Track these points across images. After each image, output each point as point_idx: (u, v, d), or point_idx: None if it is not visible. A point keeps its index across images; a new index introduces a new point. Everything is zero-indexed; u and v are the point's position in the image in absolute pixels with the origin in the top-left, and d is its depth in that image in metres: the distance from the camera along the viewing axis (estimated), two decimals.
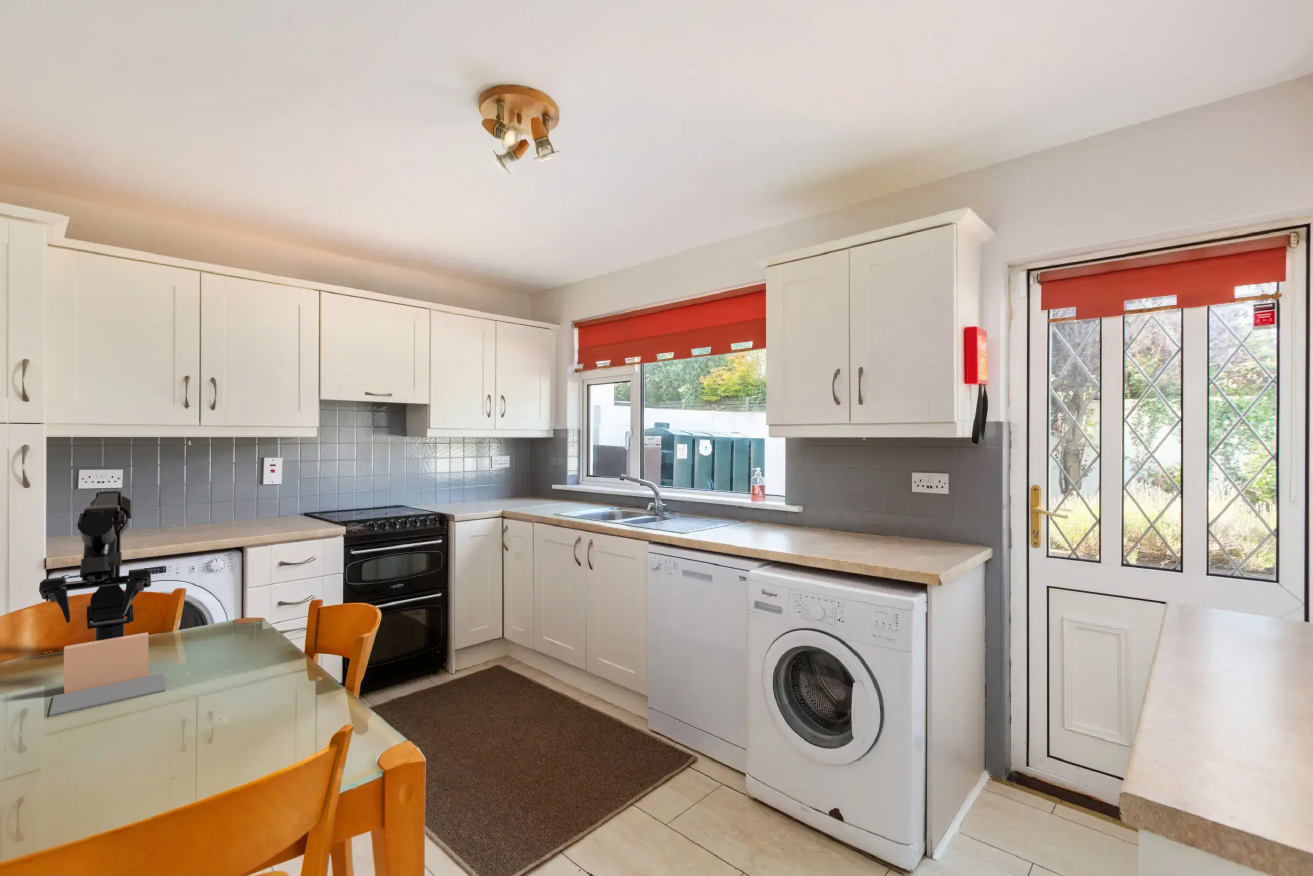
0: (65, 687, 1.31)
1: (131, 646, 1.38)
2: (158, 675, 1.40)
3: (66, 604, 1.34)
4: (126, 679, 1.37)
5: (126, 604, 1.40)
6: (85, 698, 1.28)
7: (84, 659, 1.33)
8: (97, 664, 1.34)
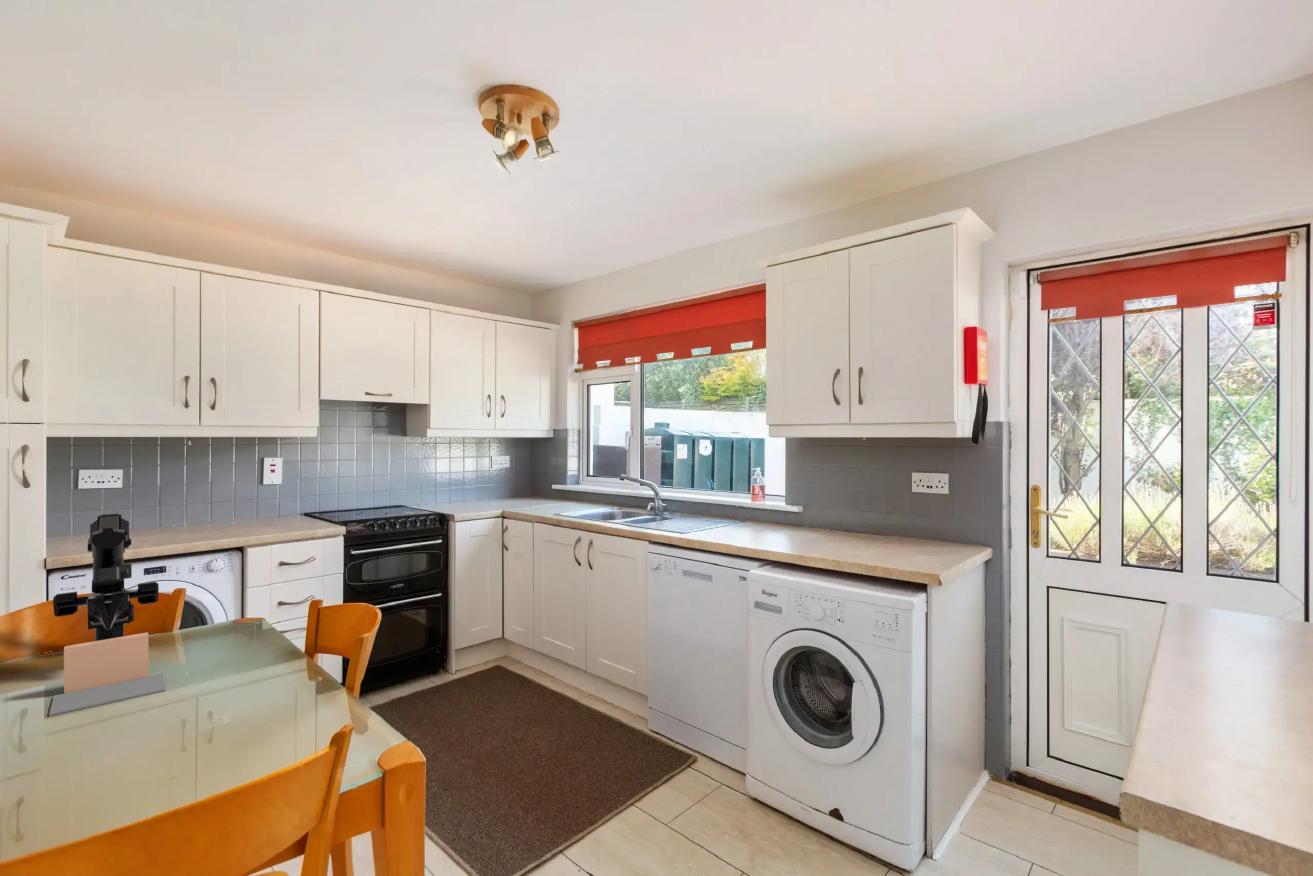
0: (65, 687, 1.31)
1: (131, 646, 1.38)
2: (158, 675, 1.40)
3: (105, 612, 1.43)
4: (126, 679, 1.37)
5: (112, 618, 1.43)
6: (85, 698, 1.28)
7: (84, 659, 1.33)
8: (97, 664, 1.34)
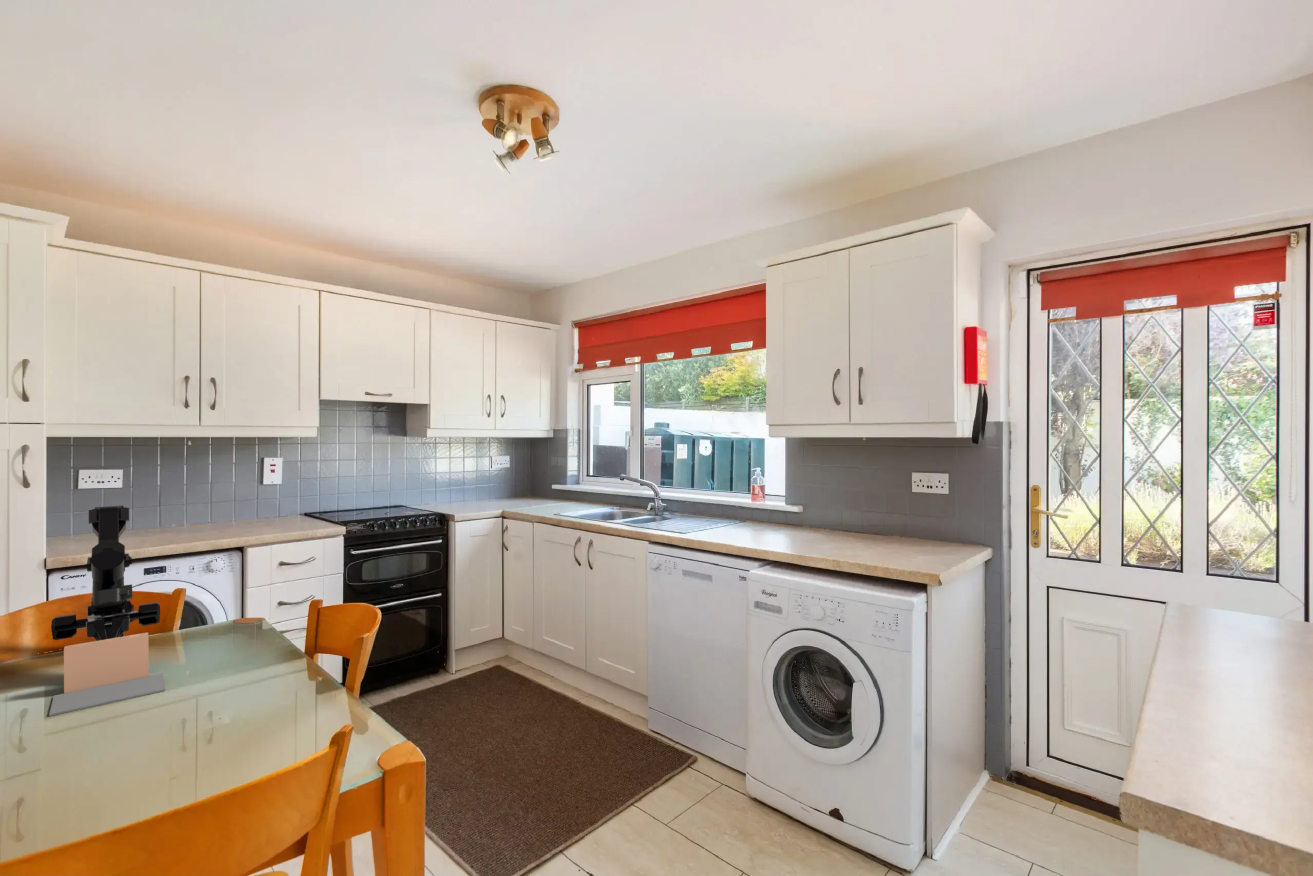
0: (65, 687, 1.31)
1: (131, 646, 1.38)
2: (158, 675, 1.40)
3: (105, 635, 1.38)
4: (126, 679, 1.37)
5: None
6: (85, 698, 1.28)
7: (84, 659, 1.33)
8: (97, 664, 1.34)
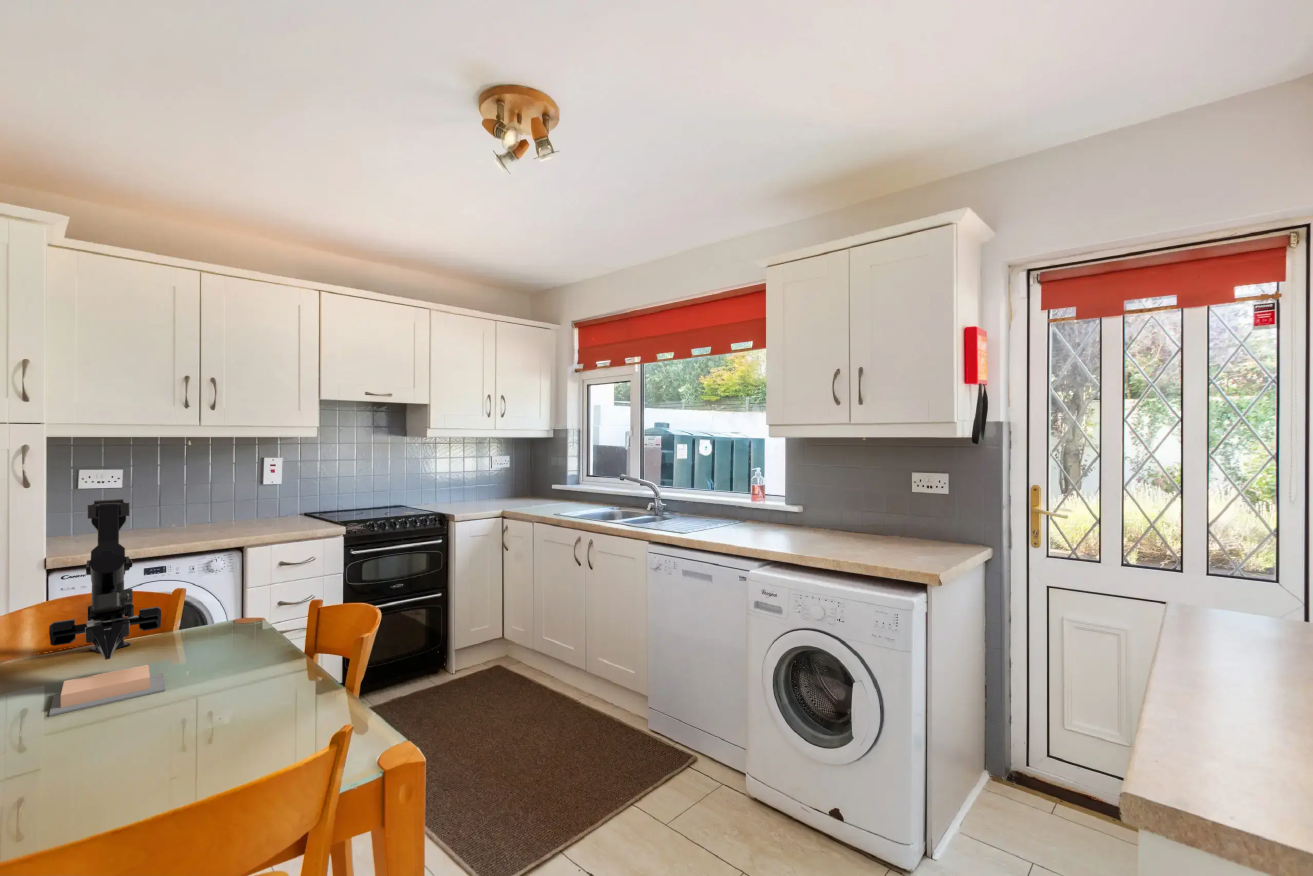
0: None
1: None
2: (158, 675, 1.40)
3: (104, 640, 1.35)
4: None
5: (112, 647, 1.35)
6: None
7: None
8: None
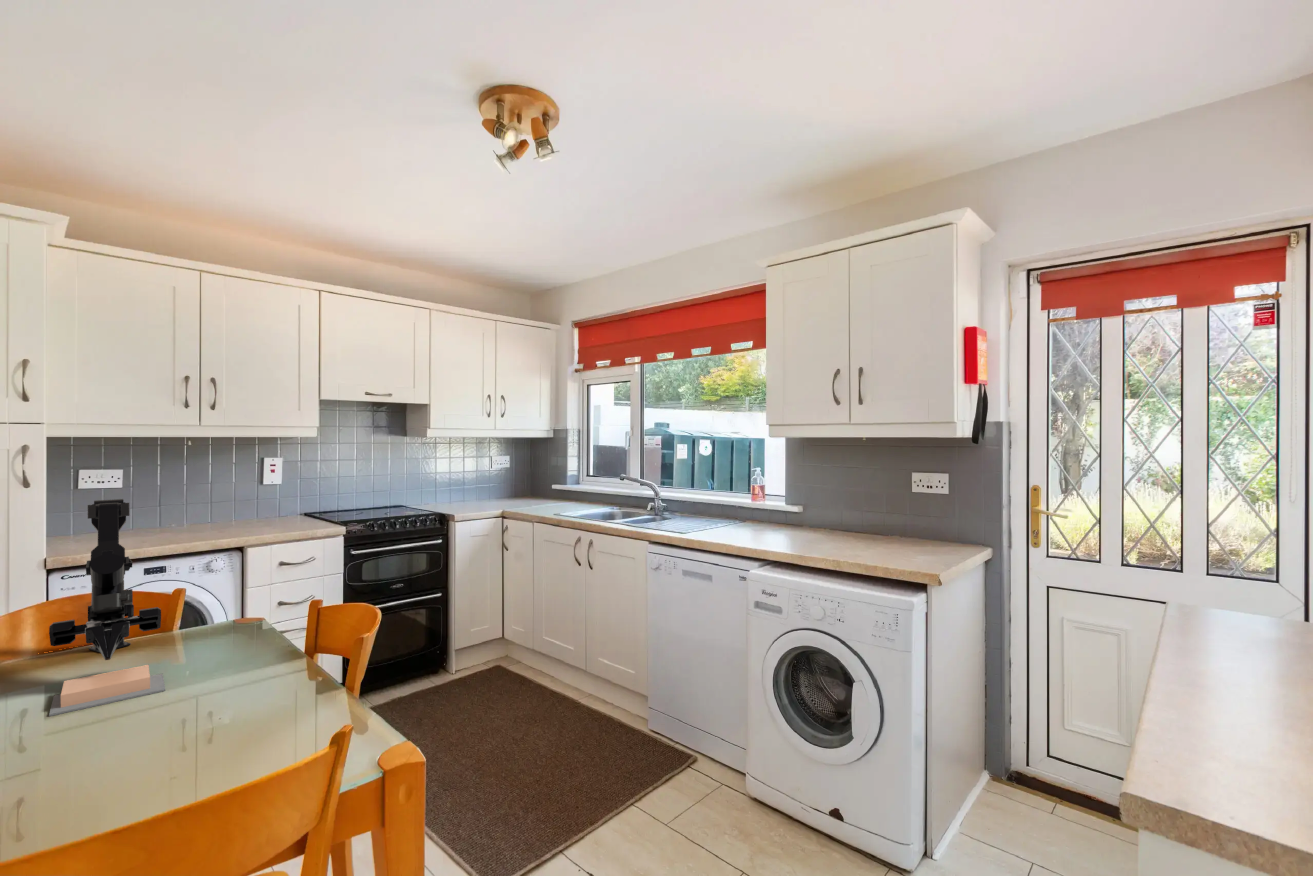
0: None
1: None
2: (158, 675, 1.40)
3: (104, 641, 1.35)
4: None
5: (112, 647, 1.35)
6: None
7: None
8: None
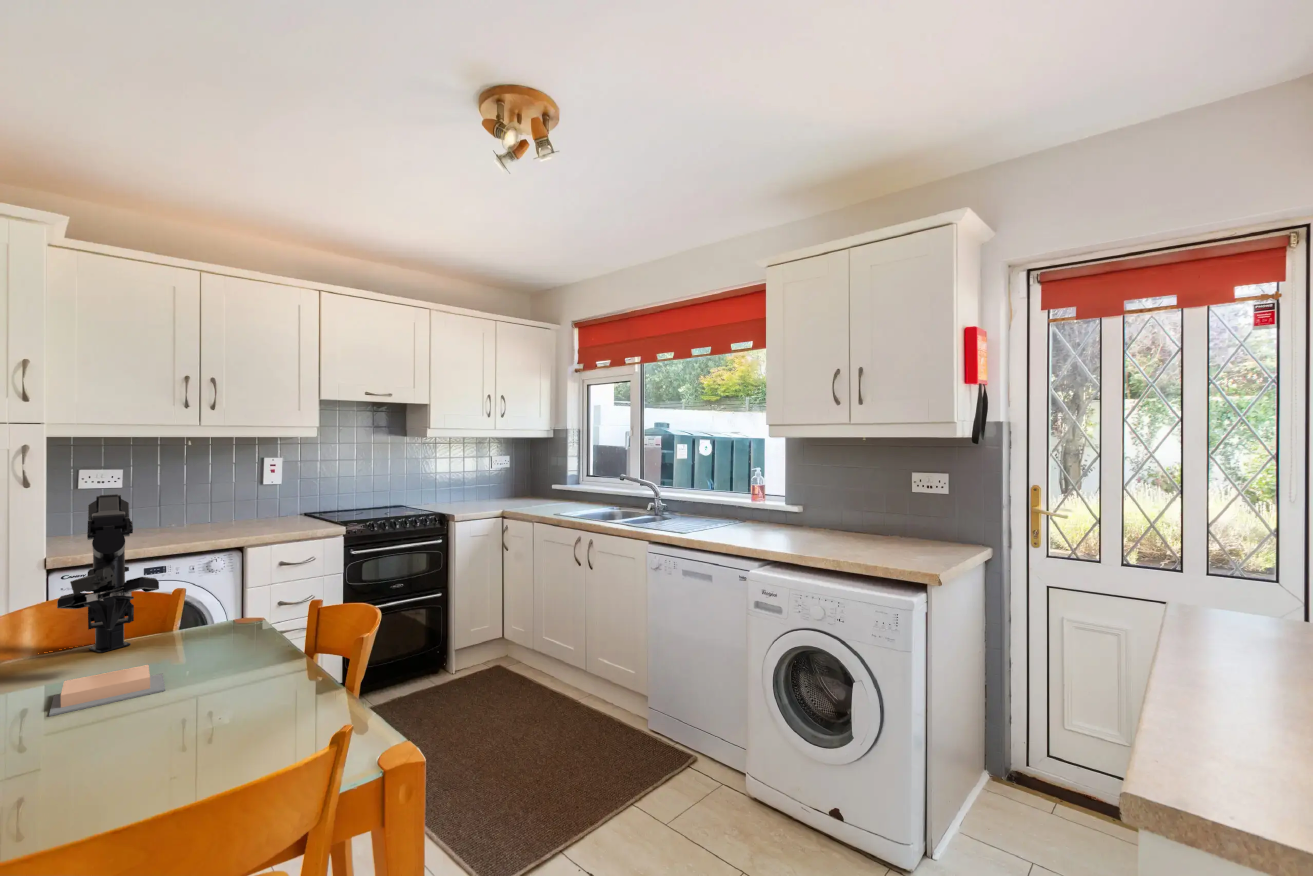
0: None
1: None
2: (158, 675, 1.40)
3: (102, 613, 1.42)
4: None
5: (109, 619, 1.42)
6: None
7: None
8: None
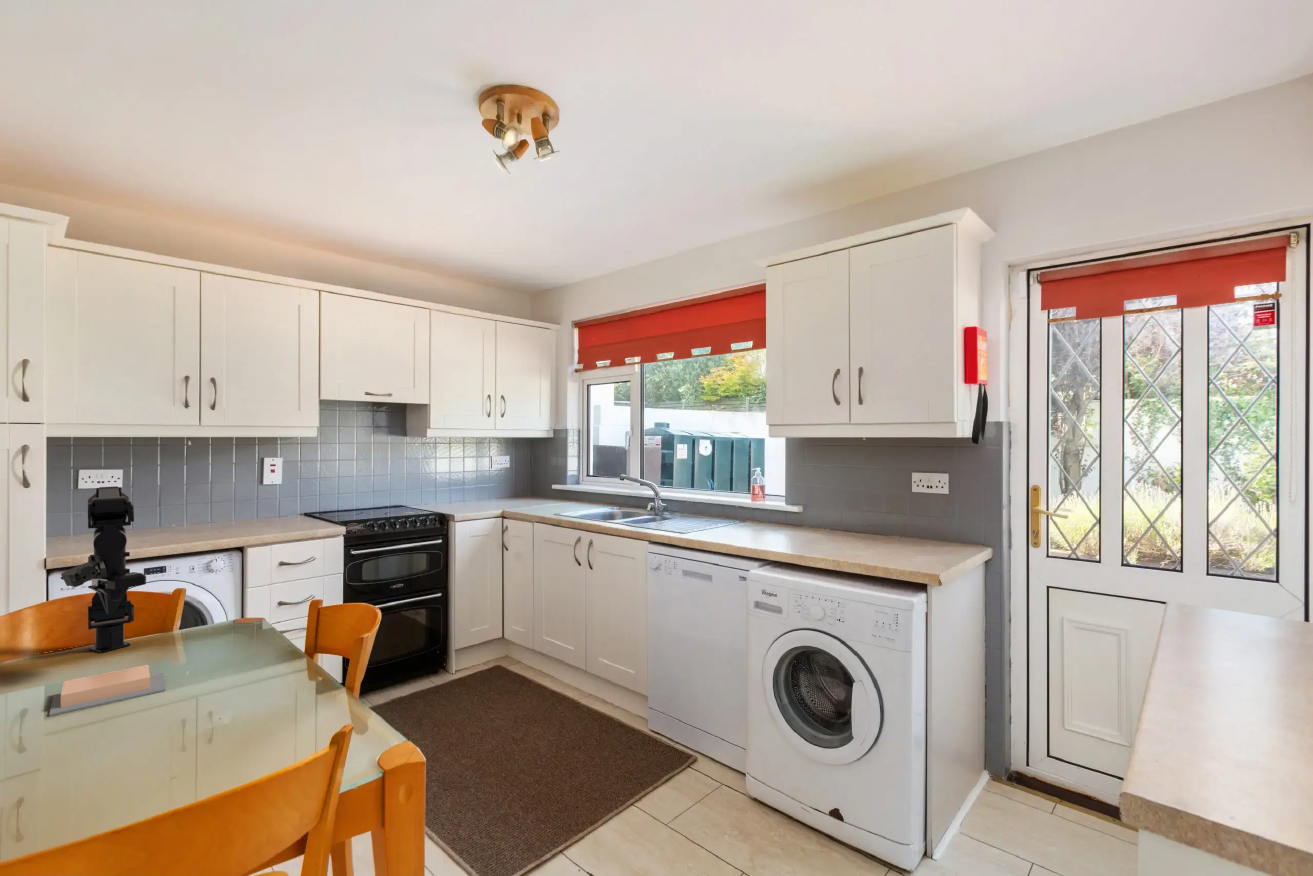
0: None
1: None
2: (158, 675, 1.40)
3: (102, 598, 1.45)
4: None
5: (107, 606, 1.45)
6: None
7: None
8: None
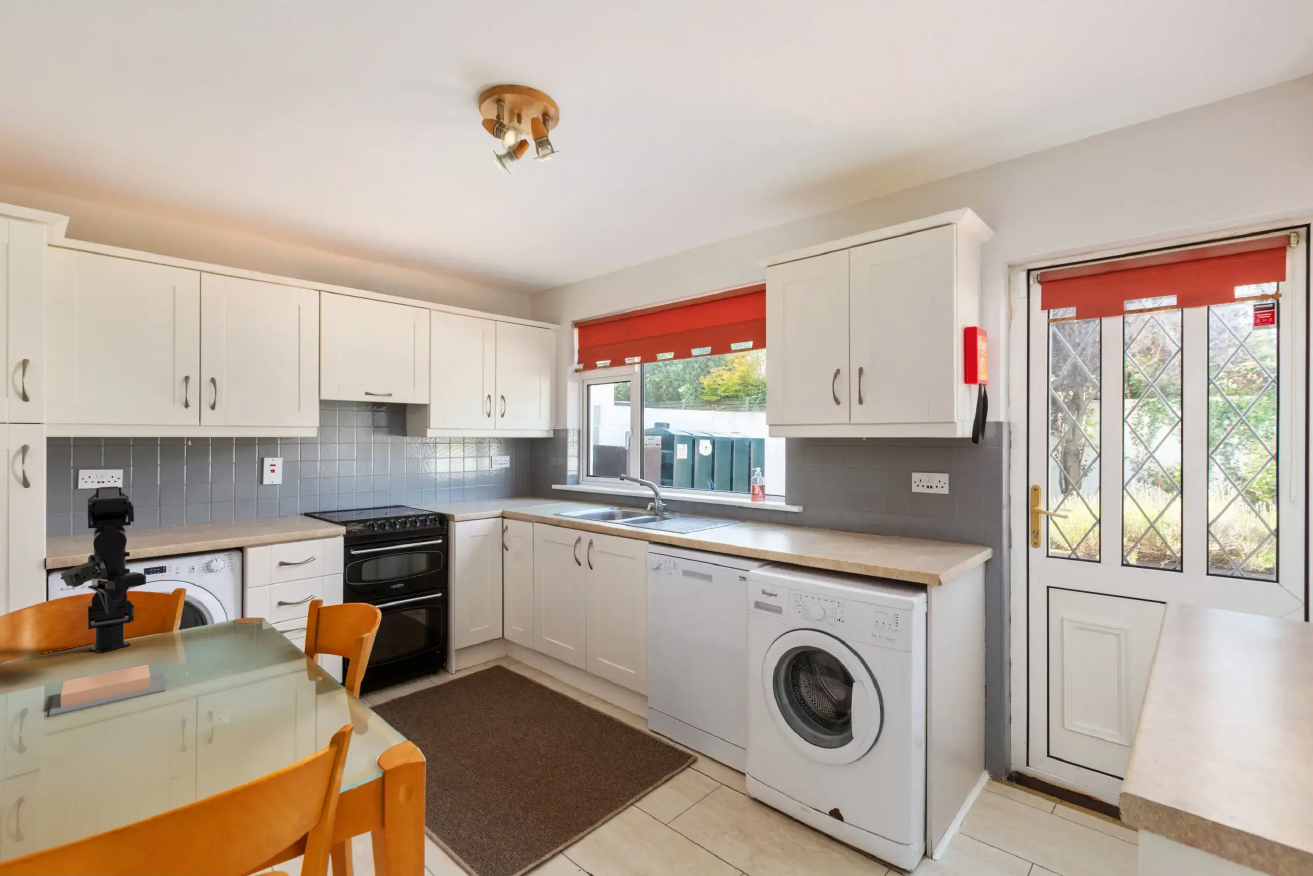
0: None
1: None
2: (158, 675, 1.40)
3: (102, 598, 1.45)
4: None
5: (107, 606, 1.45)
6: None
7: None
8: None
